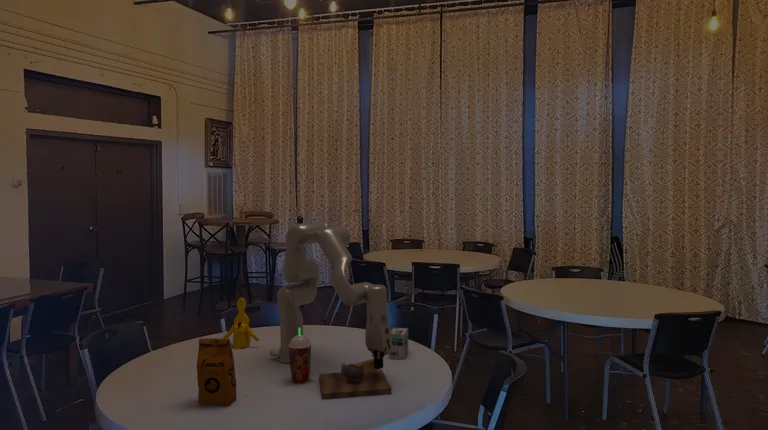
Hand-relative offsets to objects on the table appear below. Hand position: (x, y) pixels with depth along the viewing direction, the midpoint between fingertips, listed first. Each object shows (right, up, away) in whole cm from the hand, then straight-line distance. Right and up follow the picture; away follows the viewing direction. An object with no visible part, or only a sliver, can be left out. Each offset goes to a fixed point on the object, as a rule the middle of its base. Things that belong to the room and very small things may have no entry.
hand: (378, 368), depth 202 cm
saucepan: (-6, -2, -1) cm, 6 cm away
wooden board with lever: (-9, -6, -3) cm, 11 cm away
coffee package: (-54, -7, -16) cm, 57 cm away
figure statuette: (-63, -4, +49) cm, 80 cm away
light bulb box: (+8, -4, +32) cm, 34 cm away
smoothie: (-29, -6, +4) cm, 30 cm away
